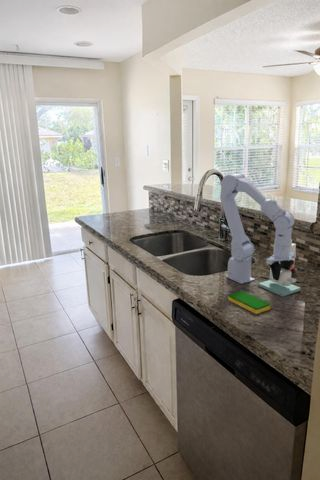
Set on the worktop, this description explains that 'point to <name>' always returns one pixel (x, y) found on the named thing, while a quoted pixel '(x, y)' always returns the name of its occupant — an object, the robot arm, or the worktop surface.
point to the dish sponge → (249, 302)
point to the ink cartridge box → (292, 249)
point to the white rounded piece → (283, 277)
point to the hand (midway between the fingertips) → (279, 278)
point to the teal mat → (279, 288)
